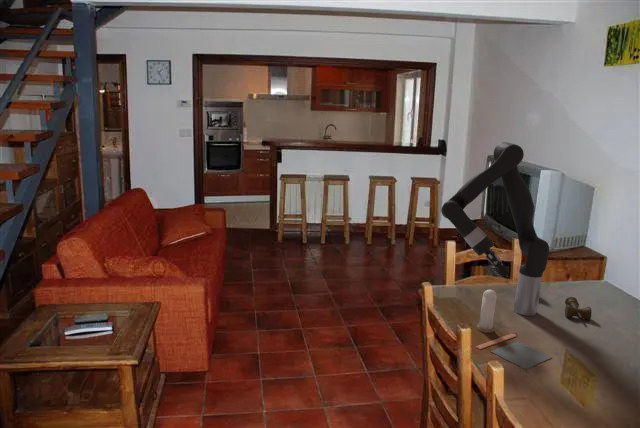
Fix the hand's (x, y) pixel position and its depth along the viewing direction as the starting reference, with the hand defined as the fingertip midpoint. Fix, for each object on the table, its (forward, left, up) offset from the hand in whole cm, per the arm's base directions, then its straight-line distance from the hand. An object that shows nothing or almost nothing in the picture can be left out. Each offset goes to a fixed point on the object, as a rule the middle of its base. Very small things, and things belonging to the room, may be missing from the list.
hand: (506, 272), depth 205 cm
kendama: (-40, +10, -23) cm, 47 cm away
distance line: (+14, +9, -22) cm, 28 cm away
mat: (+15, +20, -22) cm, 33 cm away
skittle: (+9, 0, -22) cm, 24 cm away
